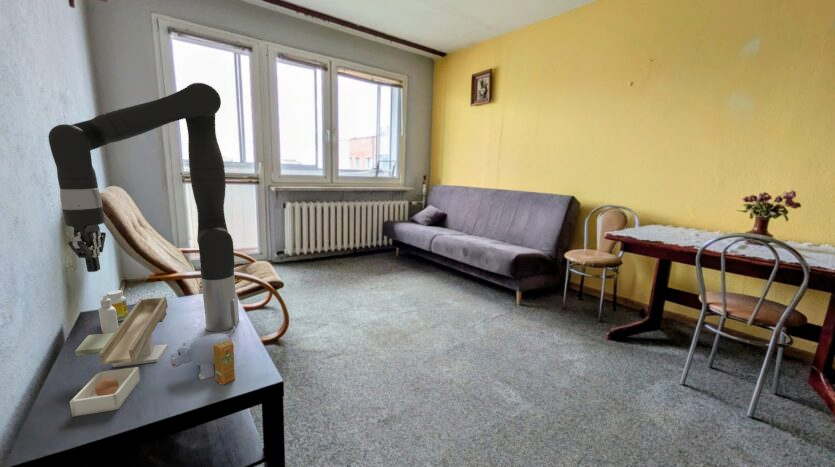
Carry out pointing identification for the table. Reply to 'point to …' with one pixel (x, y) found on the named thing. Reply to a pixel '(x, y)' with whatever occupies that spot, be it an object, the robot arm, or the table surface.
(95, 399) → the bin
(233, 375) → the supplement box
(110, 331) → the eye dropper bottle
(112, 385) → the ball
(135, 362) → the chute stand
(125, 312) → the supplement bottle
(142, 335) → the tilting chute
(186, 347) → the hippopotamus toy
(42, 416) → the table surface
